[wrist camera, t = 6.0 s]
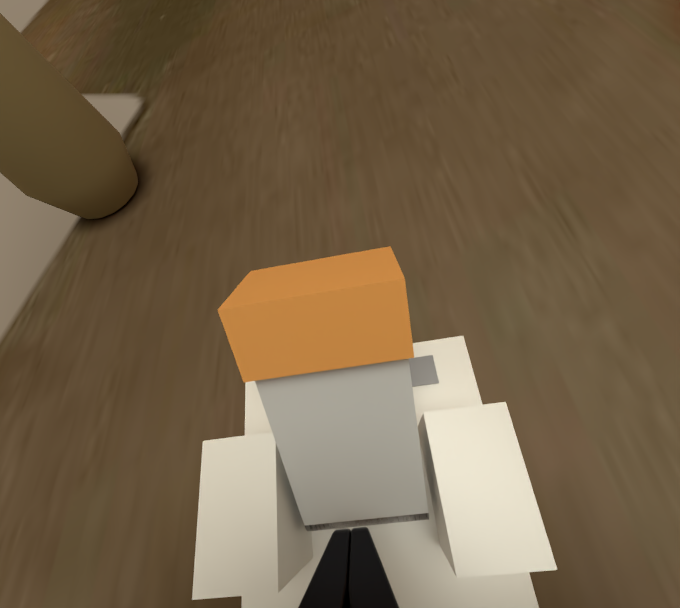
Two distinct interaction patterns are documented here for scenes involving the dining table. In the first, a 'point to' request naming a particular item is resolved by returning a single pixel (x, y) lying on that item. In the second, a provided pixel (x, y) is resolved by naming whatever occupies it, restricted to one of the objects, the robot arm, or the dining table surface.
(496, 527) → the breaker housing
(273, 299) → the lever
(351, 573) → the robot arm
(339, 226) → the dining table surface
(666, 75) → the dining table surface
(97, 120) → the squeeze bottle
